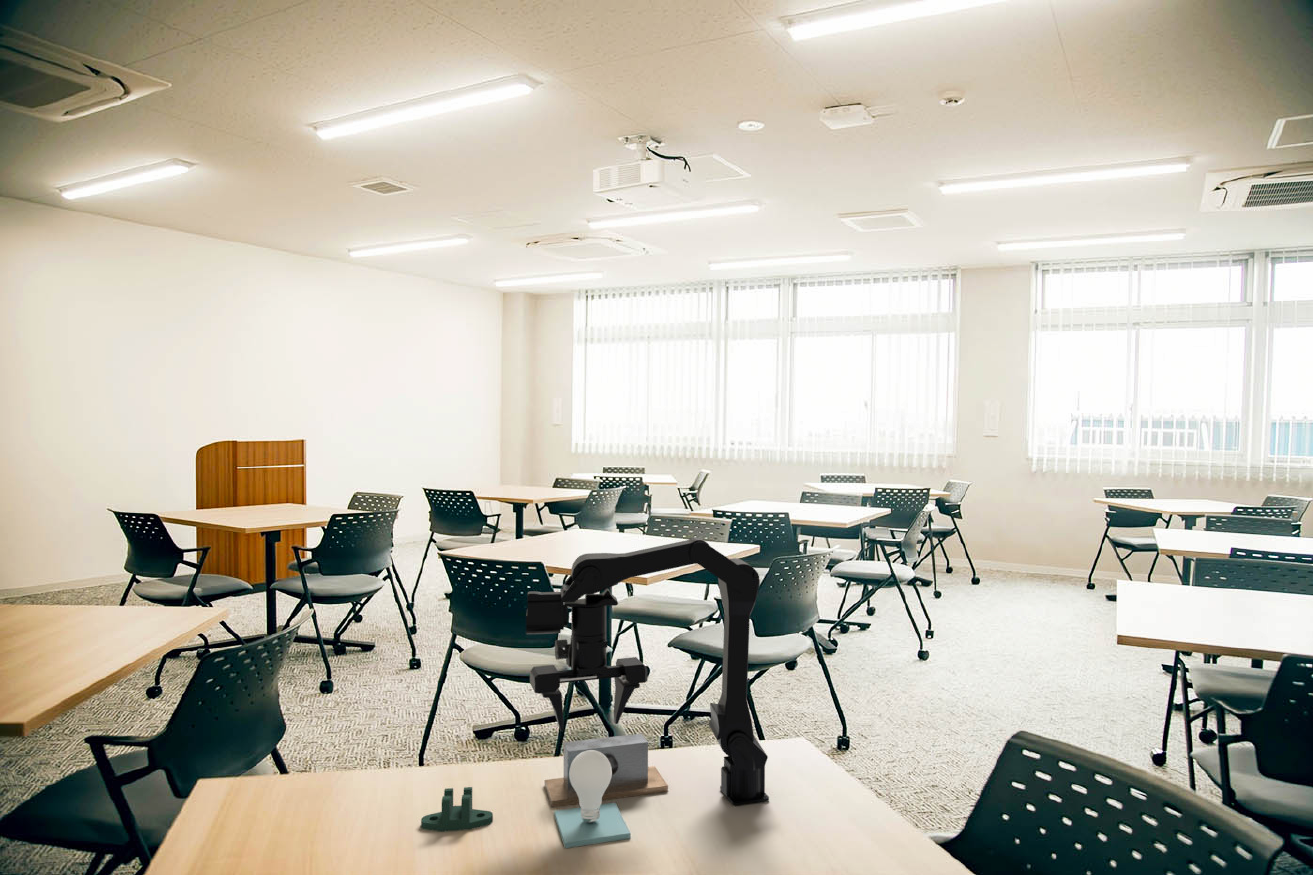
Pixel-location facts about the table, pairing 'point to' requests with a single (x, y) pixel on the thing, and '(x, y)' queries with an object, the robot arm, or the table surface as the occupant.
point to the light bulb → (590, 782)
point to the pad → (591, 826)
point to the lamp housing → (626, 769)
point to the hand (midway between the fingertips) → (588, 726)
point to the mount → (457, 814)
